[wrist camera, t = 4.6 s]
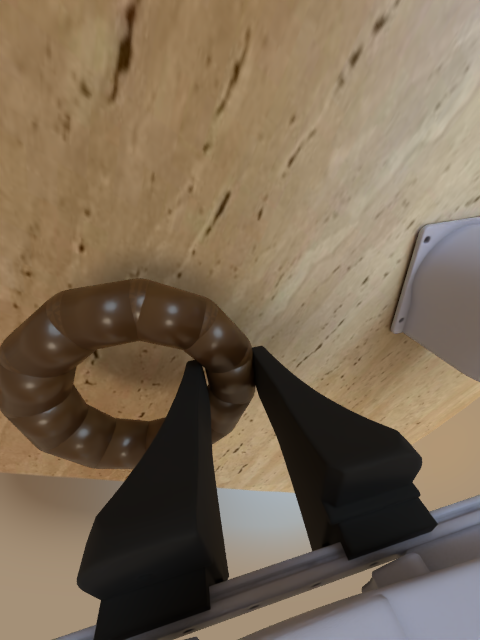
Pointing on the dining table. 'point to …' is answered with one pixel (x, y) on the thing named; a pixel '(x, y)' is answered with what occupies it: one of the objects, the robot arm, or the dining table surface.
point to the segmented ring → (105, 331)
